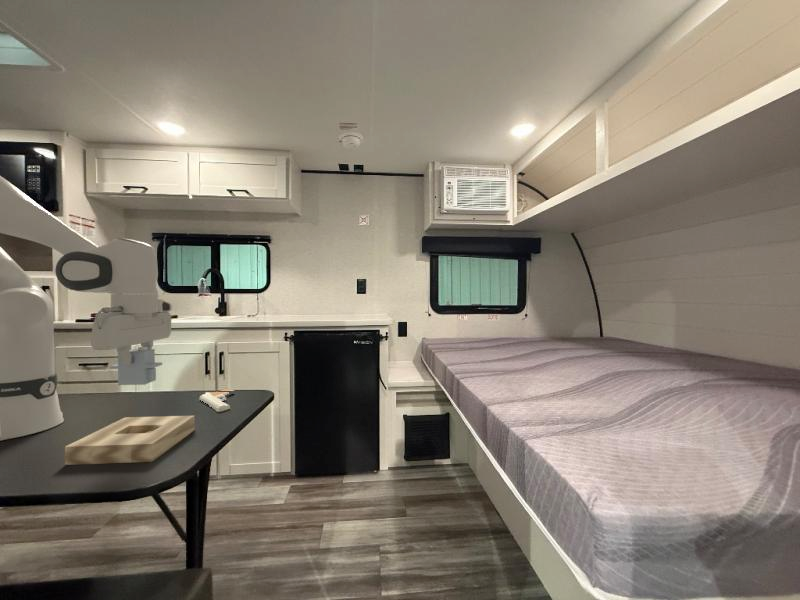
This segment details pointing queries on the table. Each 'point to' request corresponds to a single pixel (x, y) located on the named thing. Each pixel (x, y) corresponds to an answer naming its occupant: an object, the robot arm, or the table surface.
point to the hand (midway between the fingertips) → (136, 362)
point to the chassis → (130, 440)
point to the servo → (138, 367)
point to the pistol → (216, 400)
